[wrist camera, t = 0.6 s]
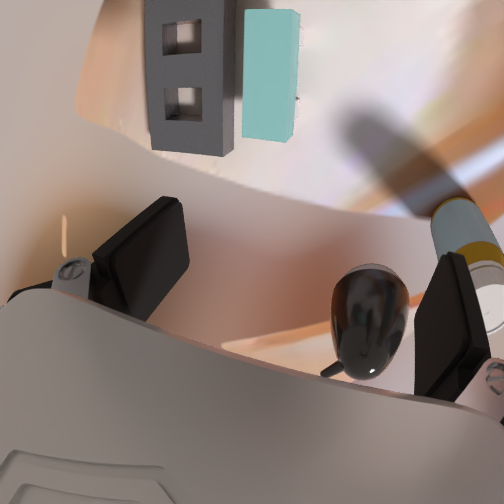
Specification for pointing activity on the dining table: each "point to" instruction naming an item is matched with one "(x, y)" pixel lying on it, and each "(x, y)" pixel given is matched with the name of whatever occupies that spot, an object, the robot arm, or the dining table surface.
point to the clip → (270, 73)
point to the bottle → (473, 253)
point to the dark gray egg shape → (367, 321)
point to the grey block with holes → (191, 76)
